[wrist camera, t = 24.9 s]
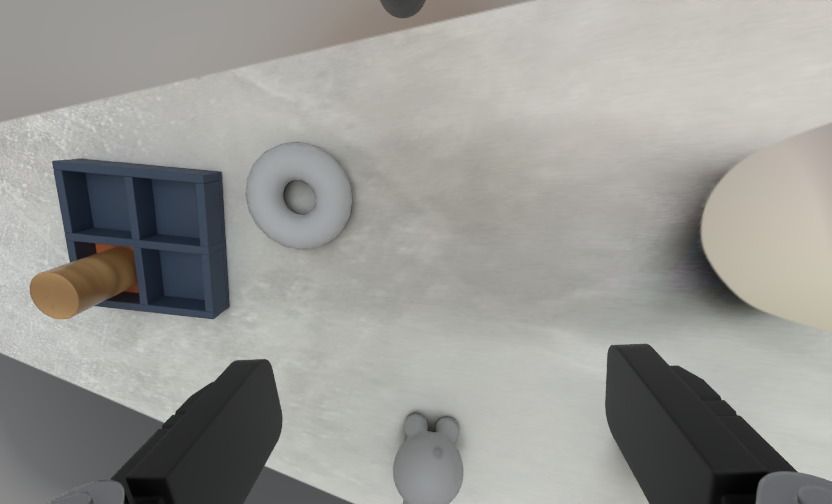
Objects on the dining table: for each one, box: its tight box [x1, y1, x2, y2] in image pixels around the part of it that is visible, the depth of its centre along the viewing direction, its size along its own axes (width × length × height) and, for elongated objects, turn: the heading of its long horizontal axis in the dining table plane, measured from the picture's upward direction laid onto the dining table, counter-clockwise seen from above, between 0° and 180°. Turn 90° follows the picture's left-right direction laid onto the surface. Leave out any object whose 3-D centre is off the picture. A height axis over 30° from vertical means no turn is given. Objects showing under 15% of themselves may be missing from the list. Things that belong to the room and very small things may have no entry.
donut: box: [246, 142, 352, 249], centre depth 38 cm, size 10×4×10 cm
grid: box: [52, 159, 229, 319], centre depth 40 cm, size 14×14×3 cm
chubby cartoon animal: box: [393, 414, 463, 504], centre depth 43 cm, size 7×12×8 cm, turn 171°
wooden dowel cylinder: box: [30, 246, 138, 319], centre depth 38 cm, size 4×4×8 cm
